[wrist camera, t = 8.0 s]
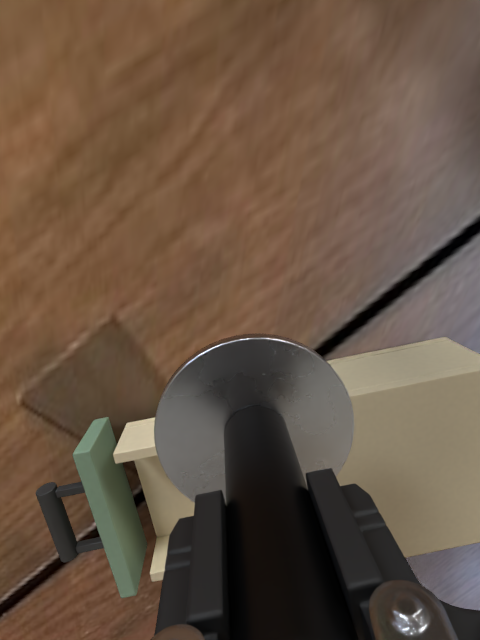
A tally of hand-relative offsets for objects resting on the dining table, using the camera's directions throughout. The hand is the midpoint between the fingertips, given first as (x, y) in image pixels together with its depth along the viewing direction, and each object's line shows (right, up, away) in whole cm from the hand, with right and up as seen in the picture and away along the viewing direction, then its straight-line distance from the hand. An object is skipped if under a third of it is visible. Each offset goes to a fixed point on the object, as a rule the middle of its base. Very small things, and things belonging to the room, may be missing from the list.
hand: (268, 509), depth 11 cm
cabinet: (+9, -4, +22) cm, 25 cm away
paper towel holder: (0, +1, +4) cm, 5 cm away
